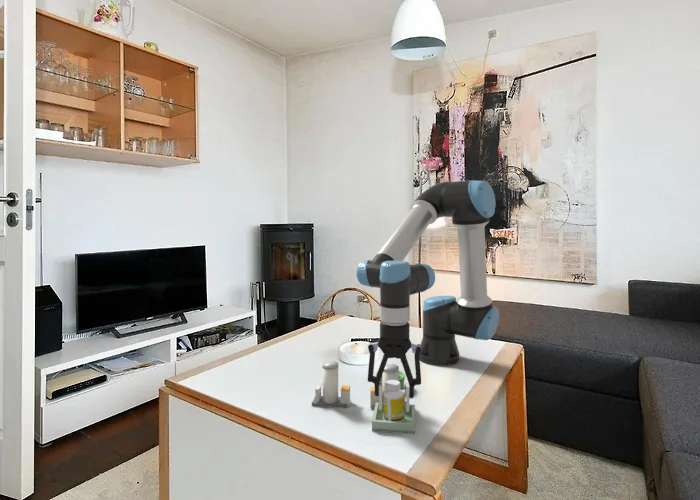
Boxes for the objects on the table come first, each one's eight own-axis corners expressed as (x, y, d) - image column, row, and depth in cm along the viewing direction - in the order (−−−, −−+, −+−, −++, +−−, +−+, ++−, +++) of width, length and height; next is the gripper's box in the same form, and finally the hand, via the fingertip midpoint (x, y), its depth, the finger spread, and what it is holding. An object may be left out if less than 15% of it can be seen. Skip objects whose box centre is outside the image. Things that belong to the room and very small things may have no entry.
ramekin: (397, 396, 126) (397, 382, 126) (370, 390, 131) (370, 376, 130) (409, 385, 134) (409, 372, 133) (384, 380, 138) (384, 366, 138)
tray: (414, 413, 116) (414, 404, 115) (414, 434, 105) (414, 424, 105) (375, 410, 117) (375, 402, 117) (371, 430, 107) (371, 421, 106)
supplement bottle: (408, 417, 112) (406, 380, 111) (398, 426, 107) (396, 388, 106) (390, 412, 115) (388, 377, 114) (379, 421, 110) (378, 384, 110)
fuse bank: (408, 403, 121) (408, 364, 120) (407, 412, 116) (408, 371, 115) (315, 398, 125) (315, 359, 124) (311, 405, 120) (311, 366, 119)
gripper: (432, 319, 111) (431, 404, 113) (359, 316, 114) (359, 399, 116) (433, 327, 103) (432, 417, 106) (355, 324, 106) (355, 412, 108)
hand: (394, 408), depth 111 cm, fingers open, 6 cm apart
